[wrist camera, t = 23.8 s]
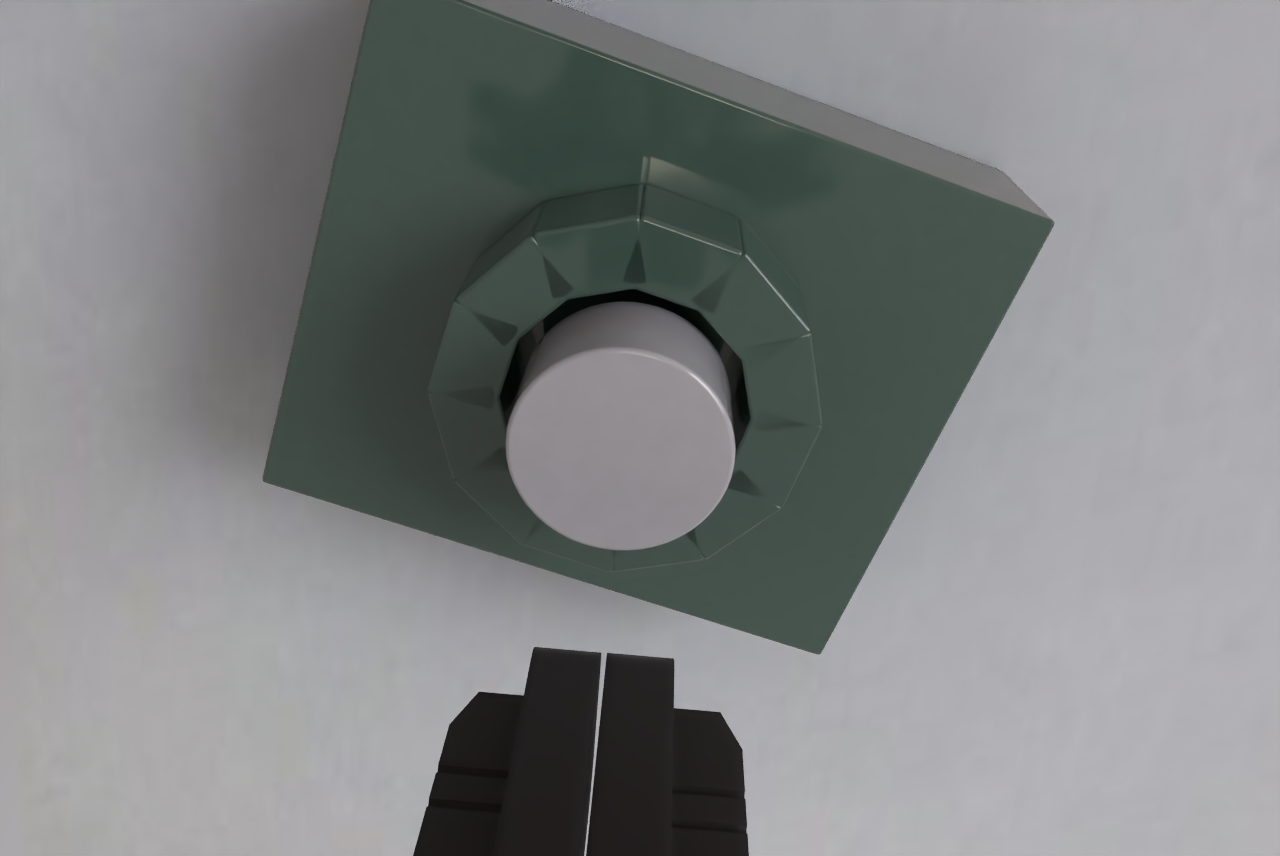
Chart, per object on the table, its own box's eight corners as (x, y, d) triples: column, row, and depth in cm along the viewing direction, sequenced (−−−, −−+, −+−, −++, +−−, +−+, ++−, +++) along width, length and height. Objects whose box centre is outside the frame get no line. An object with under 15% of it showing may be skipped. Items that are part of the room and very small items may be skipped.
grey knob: (496, 452, 20) (477, 512, 18) (558, 269, 18) (543, 315, 16) (687, 513, 20) (688, 579, 18) (763, 340, 18) (772, 394, 17)
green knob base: (313, 405, 25) (222, 537, 20) (422, -48, 21) (341, -21, 16) (804, 563, 26) (831, 722, 22) (1004, 171, 22) (1096, 259, 17)
